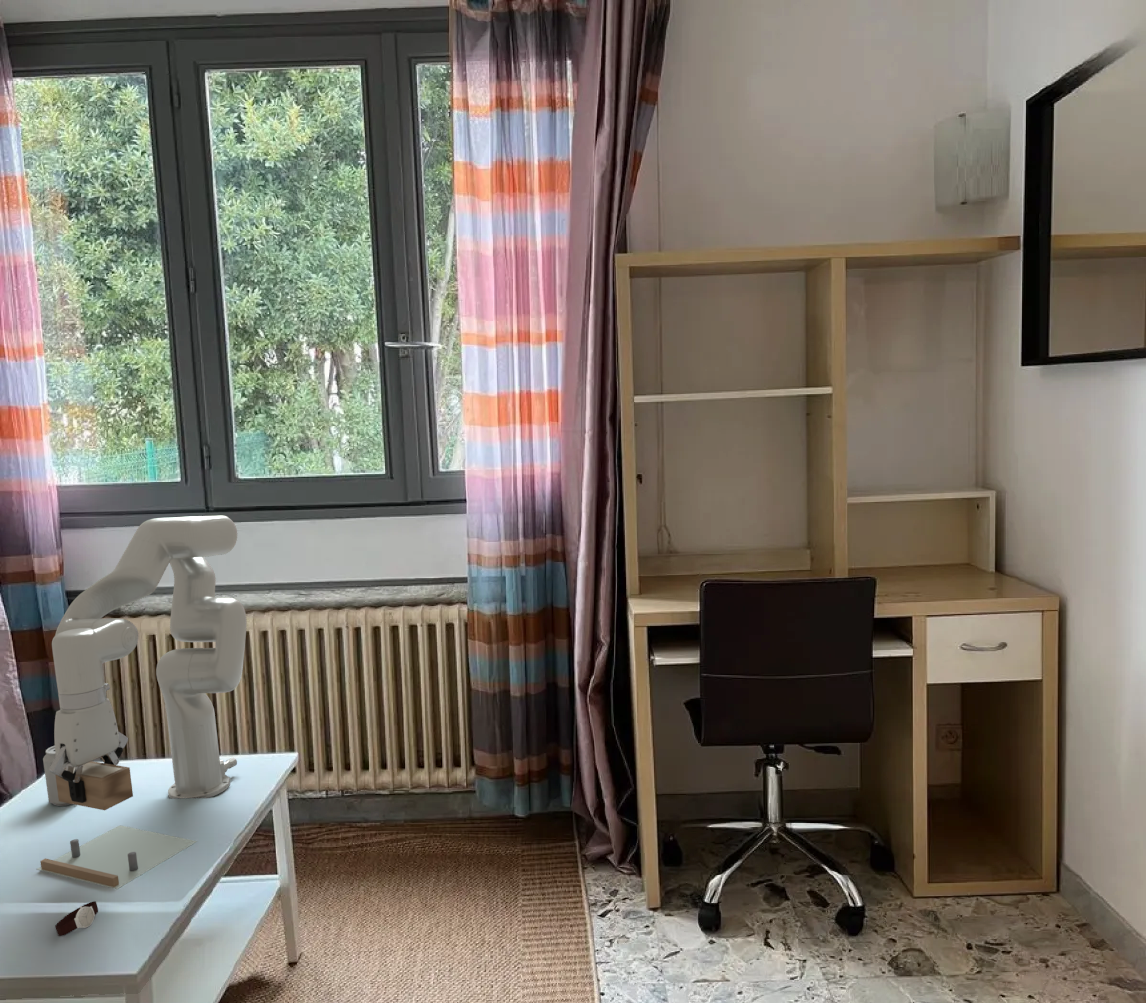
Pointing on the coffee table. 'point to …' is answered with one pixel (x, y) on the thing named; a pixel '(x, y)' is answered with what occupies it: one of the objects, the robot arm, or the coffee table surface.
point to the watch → (77, 919)
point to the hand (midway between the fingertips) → (95, 792)
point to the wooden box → (100, 785)
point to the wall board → (115, 856)
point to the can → (52, 777)
